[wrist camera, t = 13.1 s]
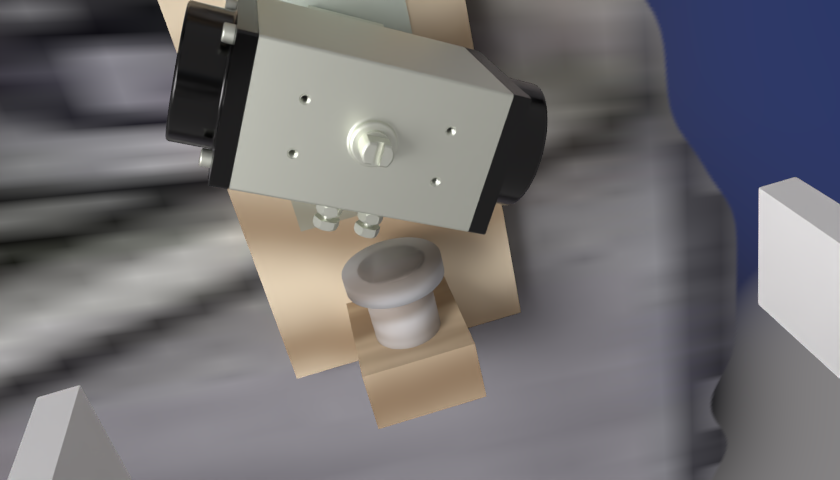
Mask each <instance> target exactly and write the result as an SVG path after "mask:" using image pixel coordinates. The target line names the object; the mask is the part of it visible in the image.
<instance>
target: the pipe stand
mask: <svg viewBox="0 0 840 480" xmlns="http://www.w3.org/2000/svg"><path fill="white" fill-rule="evenodd" d="M189 1H190V0H158V2H159V5H160V8H161V11H162V13H163V16H164V19H165V21H166V24H167V27H168V30H169V32H170V35H171V38H172V40H173V43H174V46H175V49H176V51H177V53H178V48H179V42H180V37H181V31H182V26H183V21H184V16H185V11H186V7H187V4H188V2H189ZM193 1H197V2H201V3H205V4H209V5H213V6H217V7H221V8H225V4H226V0H193ZM279 1H283V2H287V3H291V4H295V5H299V6H303V7H307V6H308V5H310V6H313V7H317V8H321V9H325V10H329V11H333V12H337V13H341V14H345V15H349V16H353V17H357V18H361V19H365V20H369V21H373V22H377V23H381V24H384V27H386V28H390V29H394V30H398V31H402V32H406V33H410V34H414V35H418V36H422V37H426V38H430V39H434V40H438V41H442V42H446V43H450V44H453V45H457V46H461V47H465V48H469V49H473V50H474V47H473V41H472V35H471V30H470V24H469V18H468V13H467V7H466V2H465V0H279ZM227 190H228V192H229V195H230V198H231V201H232V203H233V206H234V209H235V211H236V214H237V217H238V220H239V222H240V225H241V228H242V230H243V233H244V236H245V239H246V241H247V244H248V247H249V249H250V252H251V255H252V258H253V260H254V263H255V266H256V268H257V271H258V274H259V277H260V279H261V282H262V285H263V287H264V290H265V293H266V296H267V298H268V301H269V304H270V306H271V309H272V312H273V315H274V317H275V320H276V323H277V325H278V328H279V331H280V334H281V336H282V339H283V342H284V344H285V347H286V350H287V353H288V355H289V358H290V361H291V363H292V366H293V369H294V372H295V374H296V377H297V379H298V378H301V377H305V376H308V375H311V374H315V373H318V372H321V371H325V370H328V369H332V368H335V367H338V366H342V365H345V364H348V363H352V362H355V361H359V364H360V369H361V373H362V378H363V381H364V384H365V387H366V390H367V393H368V397H369V400H370V403H371V406H372V409H373V412H374V416H375V419H376V422H377V425H378V428H379V429H381V428H384V427H387V426H391V425H394V424H397V423H400V422H404V421H407V420H410V419H414V418H417V417H420V416H423V415H427V414H430V413H433V412H437V411H440V410H443V409H446V408H450V407H453V406H456V405H460V404H463V403H466V402H470V401H473V400H476V399H479V398H483V397H486V392H485V388H484V383H483V379H482V374H481V370H480V365H479V360H478V356H477V351H476V347H475V343H474V341H473V339H472V336H471V334H470V332H469V330H468V328H470V327H473V326H477V325H480V324H483V323H487V322H490V321H494V320H497V319H500V318H504V317H507V316H510V315H514V314H517V313H521V310H520V304H519V299H518V293H517V288H516V282H515V276H514V271H513V265H512V260H511V254H510V248H509V243H508V237H507V232H506V226H505V220H504V215H503V209H502V205H501V204H496V205H495V208H494V211H493V214H492V217H491V219H490V222H489V225H488V228H487V231H486V234H485V235H483V234H477V233H472V232H466V231H461V230H455V229H449V228H444V227H438V226H432V225H427V224H421V223H416V222H410V221H404V220H399V219H393V218H387V217H383V220H382V221H381V223H380V224H379V226H380V230H379V233H378V235H377V236H376V237H375V238H365V237H362V236H360V235H358V234H357V233H356V232H355V230H354V225H355V222H356V221H358V220H359V218H358V215H357V214H358V212H354V211H348V210H342V213H341V215H340V216H339V217H337V218H339V219H340V222H339V226H338V227H337V229H336V230H335V231H323V230H320V229H318V228H317V227H315V226H314V224H313V217H314V215H315V214H317V213H318V212H317V209H316V205H314V204H309V203H303V202H298V201H292V200H286V199H281V198H275V197H269V196H264V195H258V194H253V193H247V192H241V191H236V190H230V189H227Z"/></svg>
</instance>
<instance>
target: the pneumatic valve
mask: <svg viewBox="0 0 840 480" xmlns="http://www.w3.org/2000/svg"><path fill="white" fill-rule="evenodd" d="M546 133H547V106H546V101H545V98H544V95H543V93H542V91H541V89H540V88H539V87H538V86H537V85H535V84H532V83H528V82H524V81H520V80H516V79H512V78H508V77H507V76H506V75H505V74H504V73H503V72H502V71H501V70H500V69H498V68H497V67H496V66H495V65H494V64H493V63H492V62H491V61H490V60H489V59H488V58H486V57H485V56H484V55H483V54H482V53H481V52H480V51H477V50H473V49H469V48H465V47H461V46H457V45H453V44H450V43H446V42H442V41H438V40H434V39H430V38H426V37H422V36H418V35H414V34H410V33H406V32H402V31H398V30H394V29H390V28H386V27H384V24H381V23H377V22H373V21H369V20H365V19H361V18H357V17H353V16H349V15H345V14H341V13H337V12H333V11H329V10H325V9H321V8H317V7H313V6H310V5H308V6H307V7H303V6H299V5H295V4H291V3H287V2H283V1H279V0H226V4H225V8H221V7H217V6H213V5H209V4H205V3H201V2H197V1H193V0H190V1H189V2H188V4H187V7H186V11H185V16H184V21H183V26H182V31H181V37H180V42H179V48H178V53H177V59H176V65H175V71H174V77H173V83H172V90H171V96H170V103H169V110H168V117H167V125H166V139H167V140H168V141H172V142H177V143H182V144H187V145H193V146H198V147H203V148H202V149H201V155H200V160H199V166H201V167H206V168H209V169H208V179H209V183H208V186H213V187H219V188H224V189H230V190H236V191H241V192H247V193H253V194H258V195H264V196H269V197H275V198H281V199H286V200H292V201H298V202H303V203H309V204H314V205H316V209H317V212H318V213H317V214H315V215H314V217H313V224H314V226H315V227H317V228H318V229H320V230H323V231H335V230H336V229H337V227H338V226H339V222H340V219H339V218H337V217H339V216H340V215H341V213H342V210H348V211H354V212H358V214H357V215H358V218H359V220H358V221H356V222H355V225H354V230H355V232H356V233H357V234H358V235H360V236H362V237H365V238H375V237H376V236H377V235H378V233H379V230H380V226H379V224H380V223H381V221H382V220H383V217H387V218H393V219H399V220H404V221H410V222H416V223H421V224H427V225H432V226H438V227H444V228H449V229H455V230H461V231H466V232H472V233H477V234H483V235H485V234H486V231H487V228H488V225H489V222H490V219H491V217H492V214H493V211H494V208H495V205H496V204H501V205H512V204H514V203H515V202H517V201H518V200H519V199H520V198H521V197H522V196H523V195H524V194H525V192H526V191H527V190H528V188H529V187H530V185H531V183H532V181H533V179H534V177H535V175H536V172H537V170H538V167H539V164H540V161H541V158H542V154H543V150H544V146H545V140H546ZM205 148H208V149H205ZM210 149H211V150H210Z"/></svg>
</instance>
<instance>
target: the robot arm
mask: <svg viewBox="0 0 840 480" xmlns="http://www.w3.org/2000/svg"><path fill="white" fill-rule="evenodd" d="M758 256H759V257H758V259H759V260H758V304H759V305H760V306H761V307H762V308H763V309H764V310H765V311H767V312H768V314H770V315H771V316H772V317H773V318H774V319H775V320H776V321H777V322H778V323H780V324H781V325H782V326H783V327H784V328H785V329H786V330H787V331H788V332H789V333H790V334H791V335H792V336H794V337H795V338H796V339H797V340H798V341H799V342H800V343H801V344H802V345H804V347H806V348H807V349H808V350H809V351H810V352H811V353H812V354H813V355H814V356H816V357H817V358H818V359H819V360H820V361H821V362H822V363H823V364H824V365H825V366H826V367H827V368H829V369H830V370H831V371H832V372H833V373H834V374H835V375H836V376H837V377H838V378H840V204H838V203H837V202H835V201H834V200H832V199H830V198H829V197H827V196H826V195H824V194H822V193H821V192H819V191H818V190H816V189H814V188H813V187H811V186H810V185H808V184H806V183H805V182H803V181H801V180H800V179H798V178H797V177H794V178H791V179H787V180H784V181H780V182H777V183H773V184H770V185H767V186H763V187H760V188H759V255H758ZM8 480H132V479H131V477H130V475H129V474H128V472H127V470H126V468H125V466H124V465H123V463H122V461H121V459H120V457H119V455H118V454H117V452H116V450H115V448H114V446H113V445H112V443H111V441H110V439H109V437H108V435H107V434H106V432H105V430H104V428H103V426H102V425H101V423H100V421H99V419H98V417H97V415H96V414H95V412H94V410H93V408H92V406H91V405H90V403H89V401H88V399H87V397H86V395H85V394H84V392H83V390H82V388H81V386H80V385H79V386H75V387H72V388H69V389H65V390H62V391H58V392H55V393H51V394H48V395H44V396H41V397H38V398H37V400H36V403H35V405H34V408H33V411H32V414H31V416H30V419H29V422H28V425H27V427H26V430H25V433H24V436H23V438H22V441H21V444H20V447H19V450H18V452H17V455H16V458H15V461H14V463H13V466H12V469H11V472H10V474H9V477H8Z"/></svg>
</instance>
